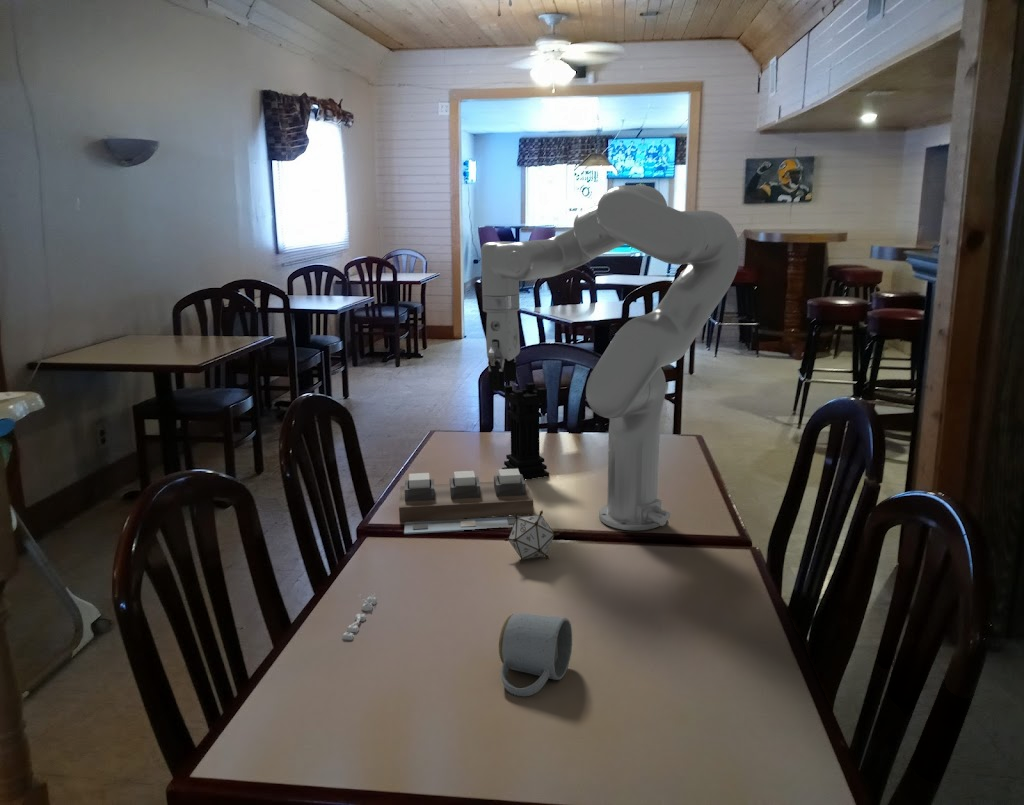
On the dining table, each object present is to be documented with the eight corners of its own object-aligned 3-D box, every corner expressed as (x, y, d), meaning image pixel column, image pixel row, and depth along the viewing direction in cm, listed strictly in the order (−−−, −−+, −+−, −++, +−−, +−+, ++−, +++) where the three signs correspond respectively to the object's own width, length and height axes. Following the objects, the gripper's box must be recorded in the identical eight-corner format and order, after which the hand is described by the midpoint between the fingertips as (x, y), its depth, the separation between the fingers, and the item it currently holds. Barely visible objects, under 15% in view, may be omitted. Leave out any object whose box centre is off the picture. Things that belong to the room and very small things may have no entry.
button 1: (429, 490, 158) (429, 479, 158) (409, 491, 158) (408, 480, 157) (429, 484, 162) (429, 472, 162) (409, 485, 162) (409, 473, 161)
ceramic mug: (516, 648, 111) (515, 598, 109) (573, 659, 108) (573, 608, 106) (486, 692, 101) (484, 638, 99) (548, 706, 98) (547, 650, 96)
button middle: (475, 488, 159) (475, 477, 159) (455, 489, 159) (454, 478, 158) (474, 481, 163) (473, 470, 162) (454, 482, 163) (454, 471, 162)
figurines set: (354, 643, 113) (352, 624, 113) (334, 641, 114) (333, 623, 113) (380, 601, 125) (379, 584, 124) (362, 600, 125) (361, 583, 125)
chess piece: (501, 471, 184) (500, 385, 179) (533, 466, 187) (532, 382, 182) (516, 481, 177) (515, 393, 172) (549, 476, 180) (549, 389, 175)
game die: (539, 581, 138) (552, 553, 131) (494, 561, 139) (504, 532, 131) (555, 540, 144) (569, 511, 136) (512, 522, 145) (522, 491, 137)
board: (537, 526, 152) (537, 499, 150) (398, 534, 149) (397, 507, 148) (525, 493, 169) (525, 469, 168) (401, 499, 166) (399, 475, 165)
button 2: (520, 486, 160) (520, 474, 160) (500, 487, 160) (500, 475, 159) (518, 479, 164) (518, 468, 163) (498, 480, 164) (498, 469, 163)
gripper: (508, 308, 155) (510, 395, 159) (528, 298, 171) (529, 377, 175) (471, 308, 156) (474, 394, 160) (494, 298, 173) (496, 376, 177)
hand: (503, 385), depth 168 cm, fingers open, 9 cm apart
